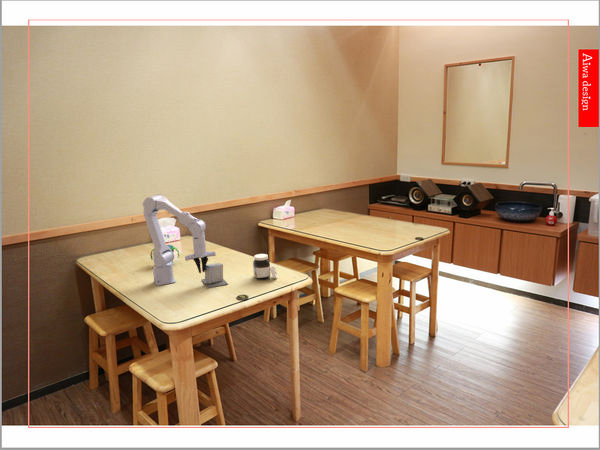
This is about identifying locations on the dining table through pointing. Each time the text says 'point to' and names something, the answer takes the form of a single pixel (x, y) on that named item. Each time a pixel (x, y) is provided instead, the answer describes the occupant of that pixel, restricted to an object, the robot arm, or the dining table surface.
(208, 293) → the dining table surface
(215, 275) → the medicine box
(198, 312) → the dining table surface
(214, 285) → the mat
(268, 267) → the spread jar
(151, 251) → the snack cup
